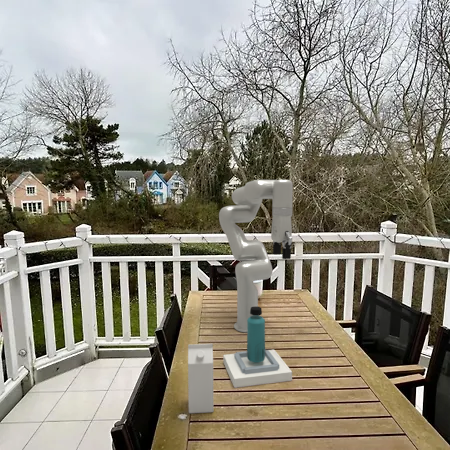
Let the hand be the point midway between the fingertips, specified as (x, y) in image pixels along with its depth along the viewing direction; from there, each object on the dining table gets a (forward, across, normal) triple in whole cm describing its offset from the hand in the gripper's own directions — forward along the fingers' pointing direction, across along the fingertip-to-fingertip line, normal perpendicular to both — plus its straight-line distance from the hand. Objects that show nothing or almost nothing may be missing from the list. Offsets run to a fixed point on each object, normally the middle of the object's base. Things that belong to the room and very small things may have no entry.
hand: (281, 256), depth 134 cm
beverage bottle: (+36, +12, -14) cm, 40 cm away
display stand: (+38, +12, -14) cm, 43 cm away
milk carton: (+38, +28, -36) cm, 60 cm away
